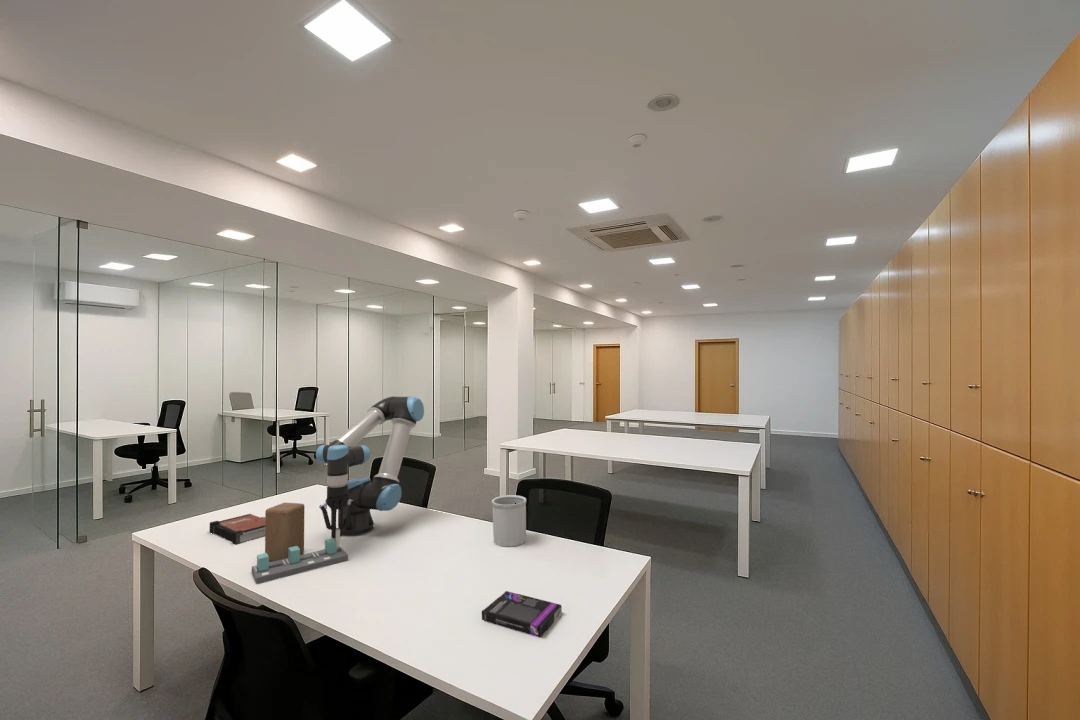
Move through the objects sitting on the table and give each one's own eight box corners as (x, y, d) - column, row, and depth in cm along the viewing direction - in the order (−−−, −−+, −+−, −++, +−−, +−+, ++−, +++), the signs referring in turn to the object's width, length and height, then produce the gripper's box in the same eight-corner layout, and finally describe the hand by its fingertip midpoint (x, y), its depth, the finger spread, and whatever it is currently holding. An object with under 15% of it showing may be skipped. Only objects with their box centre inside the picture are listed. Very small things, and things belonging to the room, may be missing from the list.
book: (279, 533, 203) (279, 522, 203) (235, 545, 188) (236, 533, 188) (251, 522, 217) (251, 512, 217) (209, 533, 203) (209, 522, 203)
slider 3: (333, 549, 177) (333, 537, 177) (336, 552, 174) (336, 540, 174) (325, 551, 175) (325, 539, 175) (328, 554, 172) (328, 542, 172)
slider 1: (266, 565, 163) (266, 552, 163) (268, 569, 159) (268, 556, 159) (256, 567, 161) (257, 554, 161) (258, 571, 157) (258, 558, 157)
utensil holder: (485, 544, 187) (485, 502, 187) (501, 532, 201) (501, 493, 201) (517, 549, 181) (517, 506, 182) (532, 537, 195) (531, 496, 195)
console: (339, 550, 181) (339, 544, 181) (348, 560, 172) (348, 553, 172) (251, 572, 162) (251, 564, 162) (256, 584, 153) (256, 576, 153)
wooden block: (286, 564, 169) (286, 510, 169) (263, 561, 171) (264, 509, 171) (305, 553, 179) (305, 503, 179) (283, 551, 181) (284, 501, 181)
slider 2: (297, 557, 169) (297, 545, 169) (299, 561, 166) (300, 549, 166) (288, 560, 167) (288, 547, 167) (290, 563, 164) (290, 551, 164)
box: (561, 616, 133) (505, 600, 142) (562, 604, 133) (506, 588, 142) (540, 640, 121) (480, 621, 130) (540, 627, 121) (480, 608, 130)
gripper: (351, 480, 184) (351, 539, 183) (317, 486, 175) (316, 547, 175) (357, 484, 178) (357, 544, 177) (322, 489, 170) (321, 552, 169)
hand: (336, 545), depth 176 cm, fingers closed
